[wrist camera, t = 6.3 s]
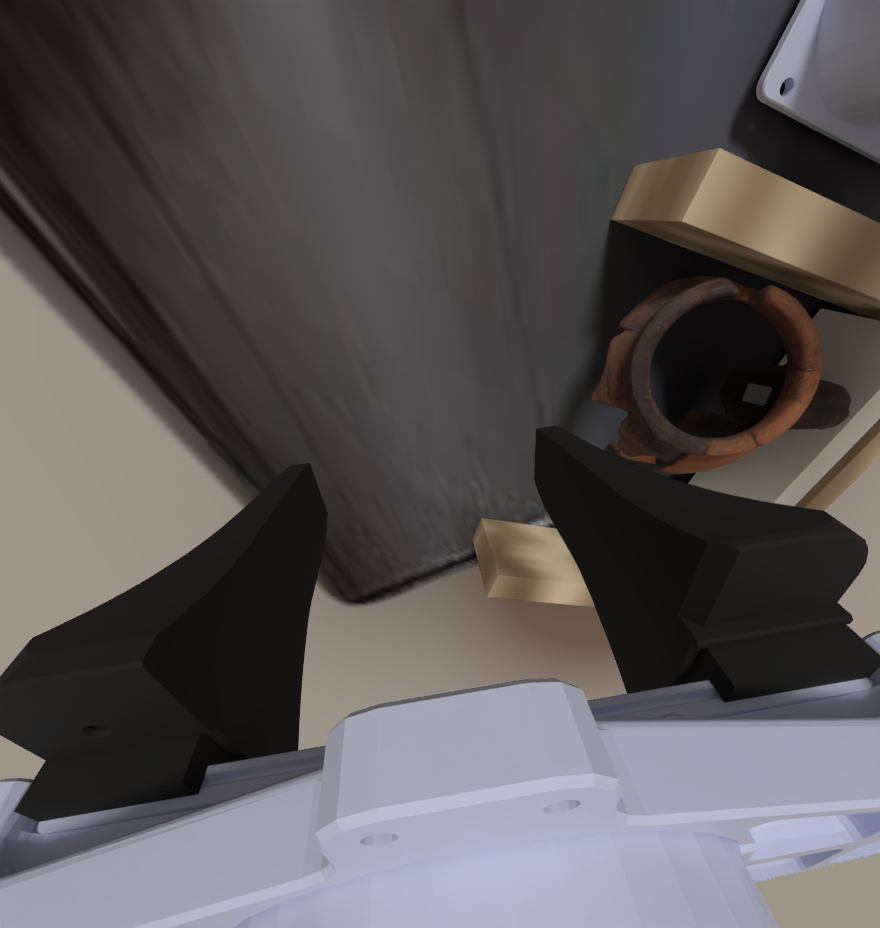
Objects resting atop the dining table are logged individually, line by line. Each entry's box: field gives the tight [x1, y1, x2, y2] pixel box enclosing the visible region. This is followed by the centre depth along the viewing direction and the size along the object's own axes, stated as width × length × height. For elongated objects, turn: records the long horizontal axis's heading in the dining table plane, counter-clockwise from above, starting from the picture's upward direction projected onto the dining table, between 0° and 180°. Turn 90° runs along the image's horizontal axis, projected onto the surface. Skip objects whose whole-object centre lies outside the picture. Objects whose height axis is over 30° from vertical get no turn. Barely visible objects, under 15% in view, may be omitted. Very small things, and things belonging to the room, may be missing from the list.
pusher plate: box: [688, 308, 880, 506], centre depth 23 cm, size 2×17×5 cm, turn 165°
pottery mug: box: [591, 276, 851, 474], centre depth 19 cm, size 12×9×8 cm
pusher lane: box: [472, 148, 880, 607], centre depth 22 cm, size 18×22×5 cm
